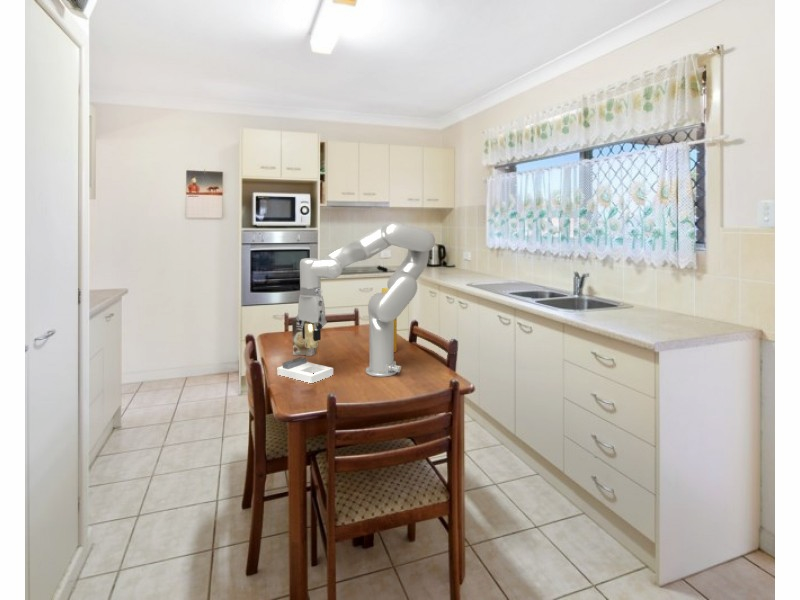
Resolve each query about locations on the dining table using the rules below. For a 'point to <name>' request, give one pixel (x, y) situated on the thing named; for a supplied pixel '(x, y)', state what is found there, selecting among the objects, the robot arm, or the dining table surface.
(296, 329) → the coffee box
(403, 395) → the dining table surface
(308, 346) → the bushing
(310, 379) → the jig
